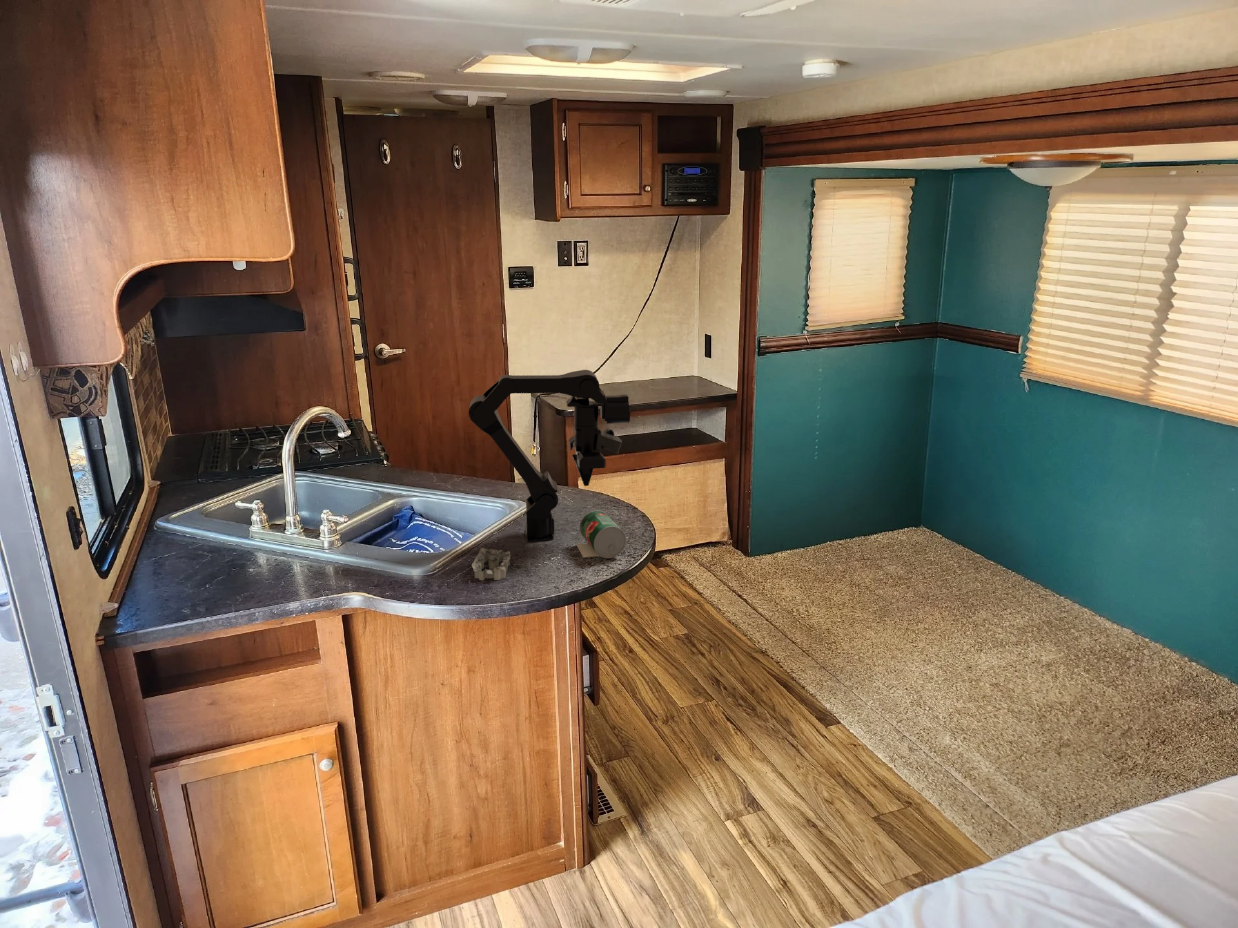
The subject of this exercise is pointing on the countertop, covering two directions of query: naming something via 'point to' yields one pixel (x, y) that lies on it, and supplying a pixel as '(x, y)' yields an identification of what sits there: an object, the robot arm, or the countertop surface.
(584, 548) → the mat
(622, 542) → the canned tomato
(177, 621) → the countertop surface
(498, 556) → the egg carton
